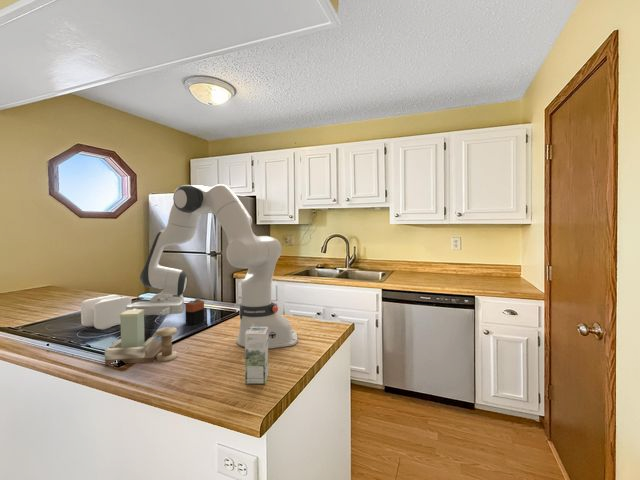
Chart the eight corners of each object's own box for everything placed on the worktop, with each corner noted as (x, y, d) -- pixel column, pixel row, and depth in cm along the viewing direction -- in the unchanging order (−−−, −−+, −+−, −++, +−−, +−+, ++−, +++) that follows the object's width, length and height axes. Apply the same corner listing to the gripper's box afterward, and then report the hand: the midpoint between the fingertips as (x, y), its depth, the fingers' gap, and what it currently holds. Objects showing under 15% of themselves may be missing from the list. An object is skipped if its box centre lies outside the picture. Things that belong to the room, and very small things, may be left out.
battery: (204, 320, 137) (204, 298, 136) (192, 325, 131) (192, 302, 130) (197, 319, 139) (197, 297, 138) (185, 323, 132) (184, 301, 132)
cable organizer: (94, 332, 121) (92, 303, 121) (80, 328, 126) (79, 300, 126) (132, 322, 134) (131, 295, 134) (119, 318, 140) (118, 293, 139)
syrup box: (268, 374, 89) (268, 325, 89) (265, 385, 84) (265, 333, 83) (248, 374, 89) (248, 325, 88) (244, 385, 83) (244, 333, 82)
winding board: (168, 345, 109) (167, 333, 109) (153, 361, 97) (153, 348, 96) (125, 347, 107) (125, 334, 107) (105, 364, 95) (104, 350, 94)
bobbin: (179, 352, 103) (179, 326, 103) (173, 360, 97) (173, 333, 97) (160, 353, 102) (160, 327, 102) (153, 361, 97) (152, 334, 96)
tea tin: (145, 347, 104) (144, 309, 103) (138, 353, 99) (137, 313, 98) (128, 347, 103) (127, 309, 103) (120, 354, 98) (119, 314, 97)
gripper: (134, 297, 125) (116, 306, 111) (187, 295, 127) (176, 304, 114) (134, 312, 125) (117, 323, 111) (187, 310, 128) (176, 321, 114)
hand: (147, 313), depth 113 cm, fingers open, 8 cm apart
